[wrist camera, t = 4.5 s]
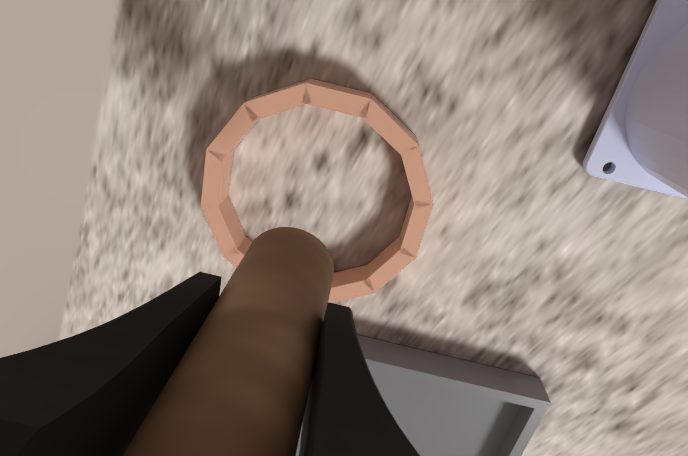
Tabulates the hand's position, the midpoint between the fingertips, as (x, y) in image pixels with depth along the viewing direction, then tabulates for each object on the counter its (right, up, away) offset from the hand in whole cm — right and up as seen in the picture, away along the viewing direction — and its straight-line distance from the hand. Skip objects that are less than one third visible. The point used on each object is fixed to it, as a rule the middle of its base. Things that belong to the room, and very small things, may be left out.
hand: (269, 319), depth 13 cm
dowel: (0, +1, +3) cm, 3 cm away
